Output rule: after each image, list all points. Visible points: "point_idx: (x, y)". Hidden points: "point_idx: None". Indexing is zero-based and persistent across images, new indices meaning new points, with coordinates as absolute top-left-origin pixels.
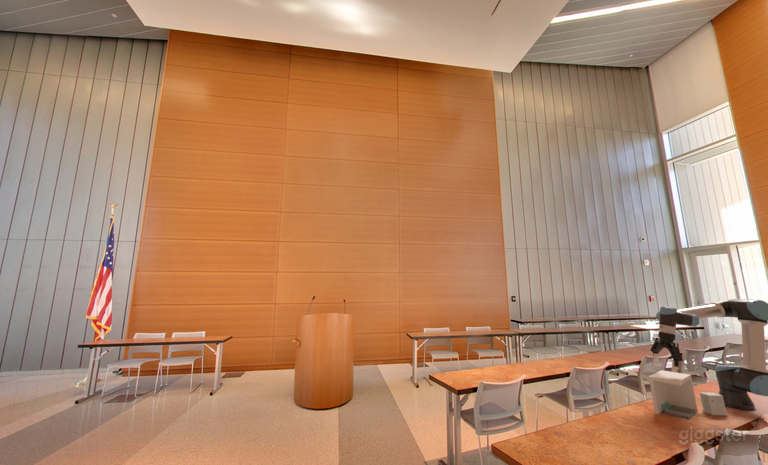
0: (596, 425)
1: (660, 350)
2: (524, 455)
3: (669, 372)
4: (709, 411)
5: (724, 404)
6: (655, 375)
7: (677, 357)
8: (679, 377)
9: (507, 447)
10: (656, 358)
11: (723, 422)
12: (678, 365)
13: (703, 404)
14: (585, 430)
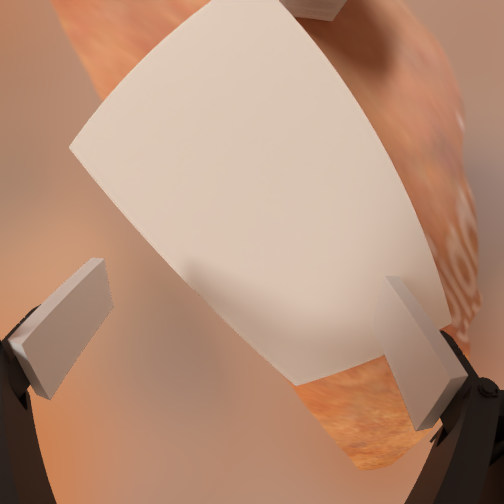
0: (348, 412)
1: (9, 426)
2: (389, 462)
3: (148, 133)
4: (324, 18)
5: None
6: (277, 344)
7: (500, 456)
8: (370, 218)
9: (369, 467)
10: (71, 331)
11: (416, 68)
12: (455, 346)
13: (293, 9)
14: (360, 426)
